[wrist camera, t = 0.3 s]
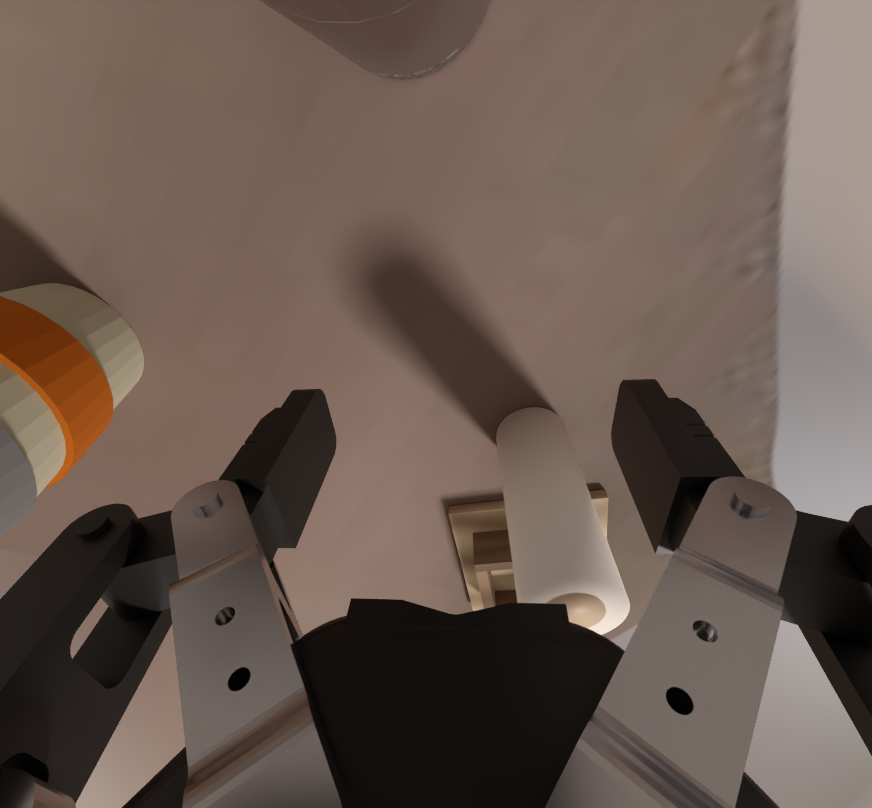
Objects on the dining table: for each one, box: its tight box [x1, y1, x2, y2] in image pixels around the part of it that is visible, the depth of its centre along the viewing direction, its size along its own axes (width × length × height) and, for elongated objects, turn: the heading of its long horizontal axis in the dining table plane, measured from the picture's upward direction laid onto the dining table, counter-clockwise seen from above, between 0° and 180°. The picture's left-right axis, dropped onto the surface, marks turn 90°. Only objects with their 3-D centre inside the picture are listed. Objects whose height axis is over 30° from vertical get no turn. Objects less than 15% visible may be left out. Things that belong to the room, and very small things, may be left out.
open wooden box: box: [449, 489, 608, 611], centre depth 41 cm, size 16×14×4 cm
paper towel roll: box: [496, 407, 630, 635], centre depth 28 cm, size 6×6×15 cm
